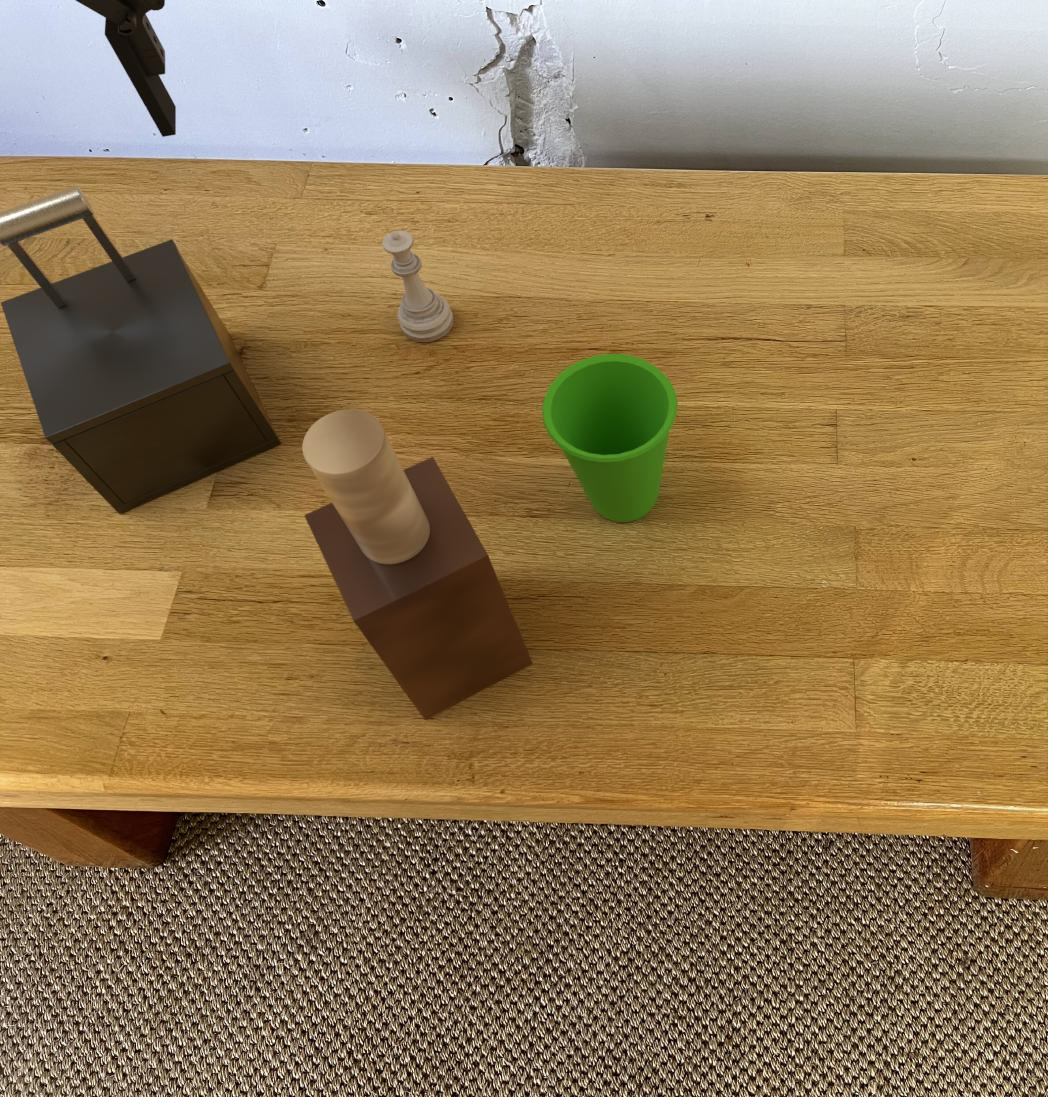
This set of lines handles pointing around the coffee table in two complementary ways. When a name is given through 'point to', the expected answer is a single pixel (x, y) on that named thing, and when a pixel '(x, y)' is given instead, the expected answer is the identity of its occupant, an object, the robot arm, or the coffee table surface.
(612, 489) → the cup
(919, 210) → the coffee table surface
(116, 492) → the dark boxy piece
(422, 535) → the tan wooden cylinder
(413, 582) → the dark brown rectangular block
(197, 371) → the handled dark lid
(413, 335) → the chess piece
